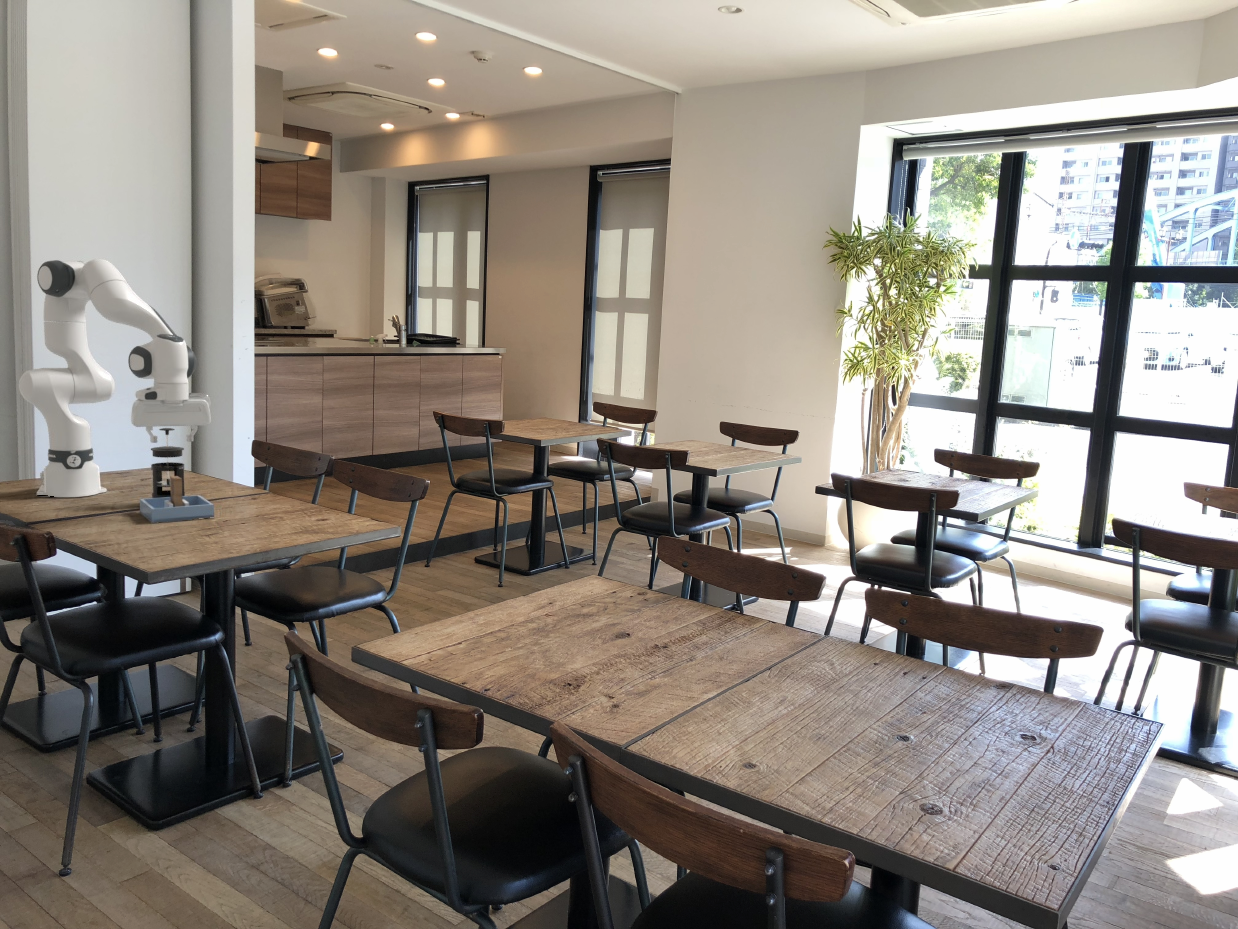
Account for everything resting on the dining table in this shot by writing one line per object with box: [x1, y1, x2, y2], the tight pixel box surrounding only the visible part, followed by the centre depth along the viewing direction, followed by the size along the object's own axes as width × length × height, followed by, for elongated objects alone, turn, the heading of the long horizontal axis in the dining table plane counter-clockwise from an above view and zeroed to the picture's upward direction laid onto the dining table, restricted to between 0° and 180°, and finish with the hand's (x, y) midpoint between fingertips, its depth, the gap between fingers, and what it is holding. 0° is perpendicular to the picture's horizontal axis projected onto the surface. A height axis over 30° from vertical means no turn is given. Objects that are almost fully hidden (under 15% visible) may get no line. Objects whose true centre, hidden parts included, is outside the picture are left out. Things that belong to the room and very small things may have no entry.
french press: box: [150, 427, 186, 498], centre depth 277 cm, size 12×9×23 cm
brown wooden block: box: [169, 475, 183, 507], centre depth 263 cm, size 5×2×10 cm, turn 38°
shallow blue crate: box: [139, 494, 215, 524], centre depth 263 cm, size 16×16×4 cm
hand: (172, 441), depth 261 cm, fingers open, 8 cm apart
